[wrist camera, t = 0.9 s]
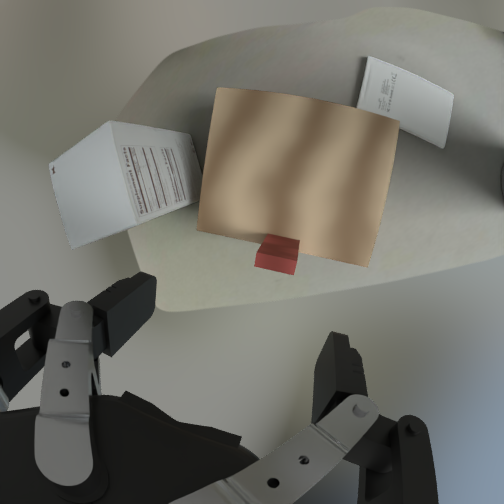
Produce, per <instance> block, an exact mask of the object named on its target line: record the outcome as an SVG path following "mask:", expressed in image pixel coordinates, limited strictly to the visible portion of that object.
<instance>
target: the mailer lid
mask: <svg viewBox="0 0 504 504" xmlns="http://www.w3.org/2000/svg"><path fill="white" fill-rule="evenodd" d="M399 125H400V121H398V120H395V119H392V118H389V117H386V116H382V115H379V114H376V113H372V112H369V111H365V110H361V109H358V108H354V107H350V106H345V105H341V104H337V103H332V102H328V101H323V100H318V99H313V98H307V97H301V96H295V95H289V94H282V93H275V92H267V91H258V90H248V89H235V88H218V87H217V90H216V96H215V101H214V107H213V113H212V119H211V125H210V131H209V137H208V144H207V150H206V157H205V164H204V172H203V179H202V187H201V195H200V204H199V212H198V221H197V230H198V231H203V232H207V233H212V234H217V235H222V236H226V237H231V238H236V239H240V240H245V241H250V242H254V243H259V244H261V246H260V248H259V249H258V251H257V254H256V259H255V265H254V266H255V267H260V268H264V269H268V270H273V271H277V272H282V273H286V274H291V275H294V272H295V268H296V264H297V258H298V252H300V253H305V254H310V255H314V256H319V257H323V258H328V259H332V260H337V261H341V262H345V263H350V264H354V265H359V266H363V267H368V265H369V261H370V258H371V255H372V251H373V248H374V244H375V241H376V237H377V233H378V230H379V226H380V222H381V218H382V214H383V210H384V206H385V201H386V197H387V193H388V188H389V183H390V178H391V173H392V168H393V163H394V157H395V151H396V145H397V139H398V132H399Z"/></svg>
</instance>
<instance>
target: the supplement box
mask: <svg viewBox="0 0 504 504" xmlns="http://www.w3.org/2000/svg"><path fill="white" fill-rule="evenodd" d="M49 171H50V176H51V180H52V185H53V189H54V193H55V197H56V201H57V205H58V208H59V212H60V215H61V219H62V222H63V226H64V228H65V232H66V235H67V238H68V241H69V244H70V246H71V249H72V250H73V249H76V248H79V247H81V246H84V245H87V244H89V243H92V242H95V241H98V240H101V239H103V238H106V237H109V236H111V235H114V234H117V233H119V232H121V231H124V230H127V229H130V228H132V227H135V226H137V225H140V224H142V223H145V222H147V221H149V220H152V219H154V218H157V217H159V216H162V215H164V214H167V213H169V212H172V211H174V210H177V209H179V208H182V207H184V206H187V205H190V204H192V203H195V202H198V201H200V195H201V187H202V179H203V175H202V172H201V169H200V165H199V162H198V159H197V155H196V152H195V148H194V145H193V142H192V138H191V135H190V134H187V133H182V132H177V131H172V130H167V129H161V128H154V127H149V126H144V125H138V124H131V123H125V122H118V121H111V120H110V121H108V122H106V123H105V124H103V125H102V126H101V127H99V128H97V129H96V130H95V131H93V132H92V133H91V134H89V135H88V136H87V137H85V138H84V139H82V140H81V141H79V142H78V143H77V144H75V145H74V146H73V147H71V148H70V149H69V150H67V151H66V152H65V153H63V154H62V155H60V156H59V157H57V158H56V159H55V160H53V161H52V162H50V163H49Z"/></svg>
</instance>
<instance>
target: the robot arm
mask: <svg viewBox="0 0 504 504" xmlns="http://www.w3.org/2000/svg"><path fill="white" fill-rule="evenodd" d="M501 182H502V191H503V195H504V166H503V170H502V177H501ZM156 284H157V280H156V277H155V276H152V275H150V274H147V273H144V272H139V273H137V274H136V275H134V276H133V277H131V278H126V279H122V280H119V281H117V282H116V283H114V284H113V285H112V286H111V287H108V288H107V289H106V290H105V291H103V292H101V293H100V294H98V295H97V296H95V297H94V298H93V299H91V300H90V301H88V302H87V303H86V302H84V301H71V302H68V303H66V304H65V305H64V306H63V307H60V306H56V305H52V304H50V302H49V296H48V294H47V293H46V292H44V291H41V290H32V291H29V292H26V293H25V294H23V295H22V296H20V297H19V298H17V299H16V300H14V301H13V302H11V303H10V304H8V305H7V306H5V307H4V308H2V309H1V310H0V504H292V503H293V502H295V501H296V500H297V499H298V498H300V497H301V496H302V495H303V494H304V493H306V492H307V491H308V490H309V489H310V488H311V487H313V486H314V485H315V484H316V483H317V482H318V481H319V480H321V479H322V478H323V477H324V476H325V475H326V474H327V473H328V472H329V471H330V470H331V469H332V468H333V467H334V466H335V465H336V464H337V463H338V462H339V461H340V460H341V459H344V460H347V461H349V462H351V463H354V464H357V465H359V466H360V471H359V488H358V501H357V504H439V503H438V492H437V483H436V475H435V468H434V462H433V455H432V450H431V444H430V439H429V434H428V429H427V427H426V425H425V423H424V422H423V421H422V420H421V419H419V418H418V417H416V416H413V415H405V416H403V417H401V418H400V419H399V421H398V422H396V421H393V420H391V419H389V418H386V417H384V416H382V415H380V414H379V409H378V407H377V405H376V404H375V402H374V401H372V400H371V399H370V398H368V394H367V387H366V381H365V375H364V369H363V364H362V358H361V356H360V354H359V353H358V352H357V350H356V349H354V348H350V345H349V338H348V335H345V334H341V333H336V332H333V331H332V332H330V334H329V336H328V338H327V340H326V342H325V344H324V346H323V349H322V351H321V353H320V355H319V357H318V359H317V362H316V366H315V371H314V391H313V407H312V422H311V424H310V425H309V426H307V427H306V428H305V429H304V430H302V431H301V432H299V433H298V434H297V435H295V436H294V437H292V438H291V439H290V440H288V441H287V442H285V443H284V444H283V445H281V446H280V447H279V448H277V449H275V450H274V451H272V452H271V453H269V454H268V455H266V456H265V457H263V458H261V459H259V458H258V457H257V456H256V455H255V454H253V453H252V452H251V451H249V450H248V449H246V448H245V447H243V446H241V445H239V444H240V441H241V438H242V437H241V436H238V435H235V434H231V433H228V432H225V431H222V430H218V429H216V428H213V427H207V426H200V425H194V424H188V423H182V422H178V421H176V420H174V419H173V418H171V417H170V416H169V415H167V414H166V413H164V412H163V411H161V410H160V409H159V408H157V407H156V406H155V405H153V404H152V403H150V402H148V401H146V400H144V399H142V398H140V397H138V396H136V395H134V394H132V393H130V392H128V391H125V392H124V394H123V395H122V396H121V397H118V396H112V395H102V393H101V381H100V360H99V355H100V354H101V353H102V352H103V353H104V354H106V355H108V356H110V357H112V356H113V355H114V354H115V353H116V352H117V351H118V350H119V349H120V348H121V347H122V346H123V345H124V344H125V343H126V342H127V341H128V340H129V339H130V338H131V336H133V335H134V334H135V333H136V331H138V330H139V329H140V327H141V326H142V325H143V324H144V323H145V322H146V321H147V320H148V319H149V318H150V317H151V316H152V314H153V312H154V309H155V299H156ZM27 330H28V331H29V335H30V339H28V340H27V341H26V342H25V343H24V344H22V345H21V346H20V347H19V348H18V349H17V350H15V348H14V345H15V341H16V340H17V338H18V337H20V336H21V335H22V334H23V333H24V332H26V331H27ZM43 367H44V374H43V381H42V390H41V401H40V407H33V408H27V409H20V410H13V411H7V409H8V407H9V402H10V401H11V400H12V399H13V398H14V397H15V396H16V395H17V394H18V392H19V391H20V390H21V389H22V388H23V387H24V386H25V385H26V384H27V383H28V382H29V381H30V380H31V379H32V378H33V377H34V376H35V375H36V374H37V373H38V372H39V371H40V370H41V369H42V368H43Z"/></svg>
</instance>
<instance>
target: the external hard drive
mask: <svg viewBox="0 0 504 504" xmlns="http://www.w3.org/2000/svg"><path fill="white" fill-rule="evenodd" d="M453 100H454V94H452V93H450V92H449V91H447V90H445V89H443V88H441V87H439V86H438V85H436V84H434V83H432V82H430V81H428V80H426V79H424V78H422V77H420V76H417V75H415V74H413V73H411V72H409V71H406V70H404V69H402V68H399V67H397V66H395V65H392V64H390V63H387V62H385V61H382V60H379V59H377V58H374V57H371V56H368V57H367V61H366V66H365V71H364V76H363V81H362V86H361V89H360V93H359V98H358V102H357V106H356V108H358V109H361V110H365V111H369V112H372V113H376V114H379V115H382V116H386V117H389V118H392V119H395V120H398V121H400V125H399V129H401V130H404V131H406V132H408V133H410V134H413V135H415V136H417V137H419V138H421V139H423V140H425V141H427V142H429V143H432V144H434V145H436V146H438V147H439V148H444V147H445V144H446V139H447V134H448V129H449V124H450V118H451V113H452V106H453Z"/></svg>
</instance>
